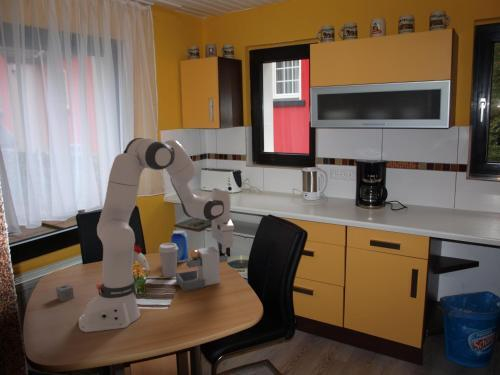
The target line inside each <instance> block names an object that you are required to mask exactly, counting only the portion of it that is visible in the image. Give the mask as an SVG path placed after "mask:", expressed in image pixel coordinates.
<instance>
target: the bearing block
mask: <svg viewBox="0 0 500 375" xmlns="http://www.w3.org/2000/svg"><path fill="white" fill-rule="evenodd" d="M196 250H197V251H198V252H199V257H200V258H201V259H202V266H197V277H198V279H199V280H200V279H205V286H210V285H216V284H220V283H221V270H220V269H221V268H220V261H219V249H218V248H216V247H214V246H210V247H209V246H208V247H204V248H197V249H196Z"/></svg>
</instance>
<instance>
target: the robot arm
mask: <svg viewBox="0 0 500 375" xmlns="http://www.w3.org/2000/svg"><path fill="white" fill-rule="evenodd" d="M145 169H150V170H154V171H160V170H161V171H162V170H165V171H166V172H167V174H168V175H169V177H170V178H169V179H170V183H171V185H172V187H173V189H174V192H175V193H176V195H177V197H178V198H179V200H180V203H181V207H182V211H183V214H184V215H185V216H186V217H188V218H193V219H194V218H195V219H199V220H205V221H211V237H212V238H213V239H214V240H215V241H216V244H217V250H219V243H220V244H222V249H221V252H222V253H225V254H226V253H227V248H231V247H233V245H234V230H235V225H234V223H233V222H232V218H231V216H232V215H231V212H230V210H231V196H230V192H229V190H228V189H226V188H220V187H219V188H216V187H215V188H212V189H211V193H210V194H208V195H207V196H206V197H202V196H198V195H195V194H194V193H193V192H192V190H191V187H190V186H189V184H188V183H190V182H191V181H192V180H193V179H194V177H195V175H196V172H197V169H196V166H195V163H194V161H193V160H192V159H191V156H190V155H189V153H188V152H187V151H186V149H185V148H184V147H183V146H182V144H181V143H180V142H178V140H176V139H175V140H174V139H169V140H165V141H164V142H162V141H157V140H155V139H151V138H144V137H138V138H137V137H136V138H133V139H132V140H130V141H129V142H128V143H127V145H126V146H125V149H124V151H123V153H120V154H118V155H116V156H115V158H114V159H113V162H112V164H111V168H110V172H109V174H108V175H109V176H108V181H107V187H106V193H105V199H104V202H103V207H102V210H101V212H100V217H99V221H98V223H97V226H96V233H97V234H96V235H97V237H98V238H99V240H100V241H101V243H102V248H103V249H102V250H103V251H102V264H101V265H102V266H101V267H102V268H101V269H102V279H103V283H102V282H98V283H96V285H95V286H96V289H97V290H98V294H97V295H96V296H94V298H92V299H91V300H89V302H88V303H87V304H86V305H85V308H84V313H83V314H81V315H80V317H79V319H78V327H79V330H80V331H81V332H84V333H91V332H100V331H107V330H115V329H125V328H127V327H128V326H130V324H132V323H133V322H135V321H137V320H138V319H139V318H140V316H141V312H140V309H139V306H138V303H137V298H136V293H137V290H136V288H137V287H136V280H135V279H134V277H133V251H134V245H136V244H135V243H136V237H135V235H136V234H135V232H134V230H133V228H132V227H131V226H130V225H129V223H130V218H131V216H132V213H133V211H134V209H135V207H136V205H137V199H138V193H139V187H140V182H141V181H140V180H141V175H142V173H143V171H144V170H145Z"/></svg>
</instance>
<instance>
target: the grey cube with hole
mask: <svg viewBox="0 0 500 375" xmlns="http://www.w3.org/2000/svg"><path fill="white" fill-rule="evenodd" d="M55 290H56V298H57V300H58V301H60V302H62V303H63V302H66V301H69V300H72V299H74V298H75V296H74V288H73V286H71V285H70V284H68V283H66V284H65V285H60V286H57V287H56V288H55Z"/></svg>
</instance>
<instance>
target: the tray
mask: <svg viewBox="0 0 500 375" xmlns="http://www.w3.org/2000/svg"><path fill="white" fill-rule="evenodd" d="M175 279H176V280H175V281H176V283H177V284H178V287H180V290H182V291H183V292H185V293H186V292H189V291H194V290H195V291H196V290H201V289H205V288H206V285H205V279H200V280H199V279H198V269H193V270H189V271H188V270H187V271H181V272H176V276H175Z"/></svg>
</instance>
